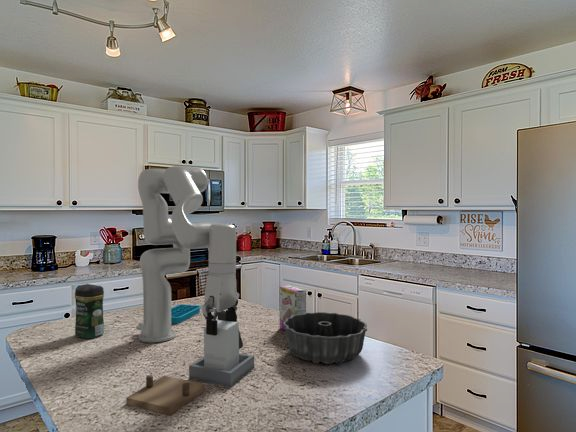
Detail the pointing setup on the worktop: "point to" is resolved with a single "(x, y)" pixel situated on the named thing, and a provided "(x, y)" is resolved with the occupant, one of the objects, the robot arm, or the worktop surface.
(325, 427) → the worktop surface
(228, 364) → the supplement box
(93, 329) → the coffee jar
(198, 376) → the tray
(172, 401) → the peg stand
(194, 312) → the ice cube tray
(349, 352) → the bundt pan
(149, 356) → the worktop surface
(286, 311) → the candy bar box
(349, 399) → the worktop surface
